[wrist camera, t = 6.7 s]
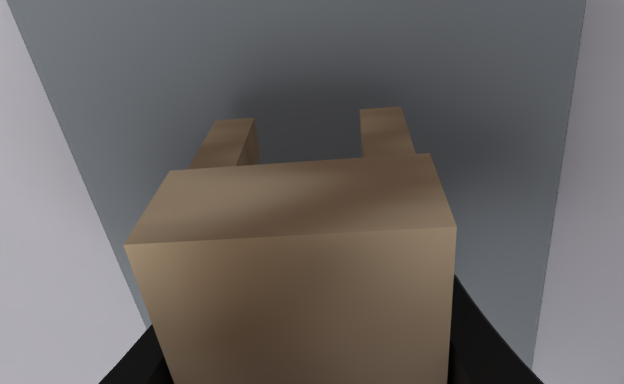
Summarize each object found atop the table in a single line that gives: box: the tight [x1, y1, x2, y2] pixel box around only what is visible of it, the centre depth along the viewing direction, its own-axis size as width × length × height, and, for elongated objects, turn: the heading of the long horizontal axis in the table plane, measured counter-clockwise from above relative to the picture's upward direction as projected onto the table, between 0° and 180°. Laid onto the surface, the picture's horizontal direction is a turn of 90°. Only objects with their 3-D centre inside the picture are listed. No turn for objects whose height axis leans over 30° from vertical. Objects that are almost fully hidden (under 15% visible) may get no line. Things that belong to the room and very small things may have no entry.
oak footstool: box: [123, 106, 457, 384], centre depth 12 cm, size 5×8×5 cm, turn 6°
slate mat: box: [7, 0, 586, 370], centre depth 15 cm, size 18×14×1 cm
